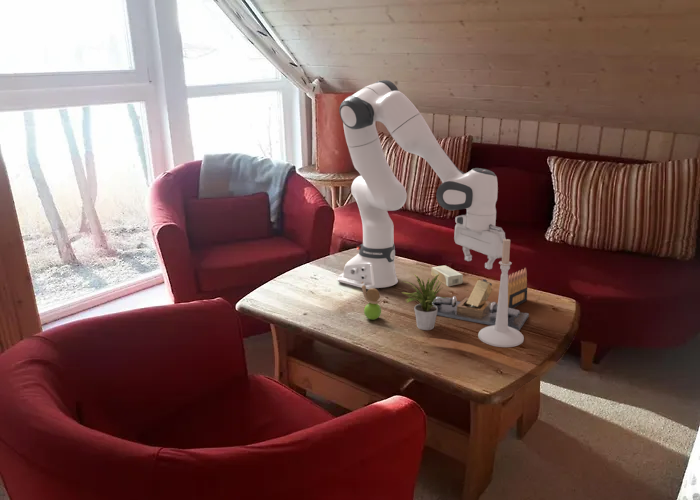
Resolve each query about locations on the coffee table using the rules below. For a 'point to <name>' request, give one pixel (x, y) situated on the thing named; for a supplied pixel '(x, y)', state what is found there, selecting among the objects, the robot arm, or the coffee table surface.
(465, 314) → the coupler station
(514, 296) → the ammunition clip
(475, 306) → the pale yellow block
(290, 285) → the coffee table surface
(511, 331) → the candlestick
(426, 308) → the house plant
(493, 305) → the shaft right
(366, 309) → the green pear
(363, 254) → the robot arm
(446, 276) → the skincare box
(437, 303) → the shaft left
